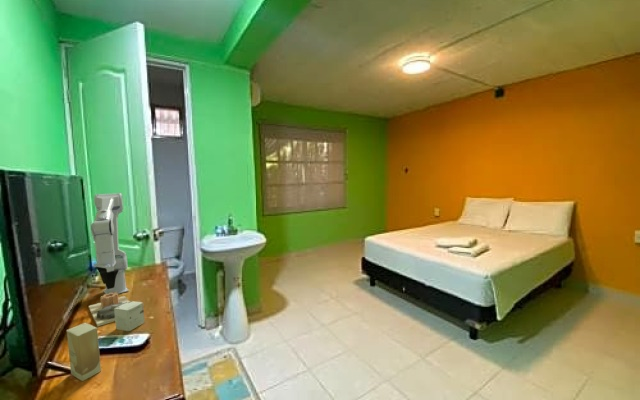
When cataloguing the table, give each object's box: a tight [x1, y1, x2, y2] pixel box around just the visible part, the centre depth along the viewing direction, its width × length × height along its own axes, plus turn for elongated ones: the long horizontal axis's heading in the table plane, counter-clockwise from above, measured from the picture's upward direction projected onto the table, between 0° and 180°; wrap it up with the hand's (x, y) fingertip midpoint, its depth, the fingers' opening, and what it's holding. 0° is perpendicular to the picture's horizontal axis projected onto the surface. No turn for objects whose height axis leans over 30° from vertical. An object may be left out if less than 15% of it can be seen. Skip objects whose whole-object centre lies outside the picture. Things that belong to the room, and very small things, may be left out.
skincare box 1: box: [66, 322, 102, 382], centre depth 75 cm, size 6×4×12 cm
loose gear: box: [100, 293, 119, 308], centre depth 112 cm, size 5×5×4 cm
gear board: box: [88, 295, 130, 328], centre depth 110 cm, size 20×12×4 cm, turn 45°
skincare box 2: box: [114, 300, 146, 332], centre depth 98 cm, size 6×6×7 cm
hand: (108, 285), depth 112 cm, fingers open, 7 cm apart
